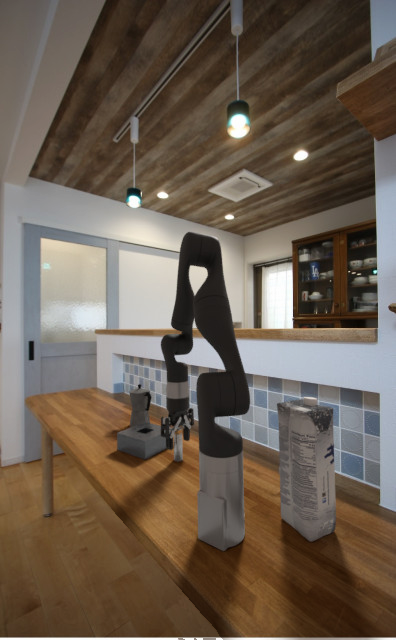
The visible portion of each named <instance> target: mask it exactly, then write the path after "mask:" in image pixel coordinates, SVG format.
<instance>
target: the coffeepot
mask: <svg viewBox="0 0 396 640" xmlns="http://www.w3.org/2000/svg"><path fill="white" fill-rule="evenodd" d="M128 392H129V399H130V405H131V408H132V409H131V412H130V413H131V415H130V420H129V428H131V427H134V426H137V425H139V424H142V423H144V422H148V423H151V420H150V415H149V411H150V407H151V401H152V394H151V390H150V389H148V388H143V387H142V384H141V383H140V384H139V383H138V384H137V388H135V389H130V390H129V391H128Z"/></svg>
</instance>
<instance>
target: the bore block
mask: <svg viewBox="0 0 396 640" xmlns="http://www.w3.org/2000/svg"><path fill="white" fill-rule="evenodd" d="M164 433H165V430H164ZM170 433H171V430H170V432H169V434H170ZM172 438H173V439H174V436H173V437H172ZM116 440H117V441H116V446H117V448H116V449H117V451H119V452H122V453H125V454H128V455H130V456H133V457H137V458H139V459H143V460H148V459H150V458H152V457H153V456H155V455H157V454H159V453H161V452H163V451H165V450H166V449H167V448H166V438H165V437H161V424H160V425H159V424H155V423H152V422H150V423H148V422H144V423H142V424H139V425H137V426H134V427H129V428H126V429H123V430H120V431H119V432H116ZM167 450H168V449H167Z"/></svg>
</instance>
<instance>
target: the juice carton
mask: <svg viewBox="0 0 396 640" xmlns="http://www.w3.org/2000/svg"><path fill="white" fill-rule="evenodd" d="M276 409H277V416H278V417H277V419H278V449H279V450H278V451H279V453H278V455H279V458H278V459H279V467H280V474H279V488H280V489H279V490H280V491H279V492H280V516H281V518H282V520H283V521H284V522H286V523H287V524H288V525H289V526H291V527H292V528H294V529H295V531H297V532H298V533H299V534H300V535H301V536H302V537H303V538H305V539H306V540H307V541H309V542H312V543H313V542H314V541H317V540H319V539H321V538H323V537H324V536H327V535H331V534H332V533H334V532H335V530H336V523H337V521H336V520H337V509H336V508H337V505H336V504H337V503H336V476H335V475H336V474H335V473H336V472H335V471H336V470H335V469H336V468H335V440H334V437H335V436H334V407H331V406H327V405H321V404H318V398H316V397H313V396H303V399H302V398H300V399H294V400H288V401H287V400H286V401H283V402H276Z"/></svg>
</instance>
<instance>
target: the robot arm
mask: <svg viewBox="0 0 396 640" xmlns="http://www.w3.org/2000/svg"><path fill="white" fill-rule="evenodd" d="M178 257H179V258H178V267H177V279H176V291H175V292H176V293H175V300H174V306H173V310H172V314H171V321H170V327H171V328H173V329H174V330H175V331H178V332H181V333H167V334H165V335H164V336H163V337H162V339H160V349H161V353H162V356H163V360H164V364H165V368H166V384H165V385H166V388H165V395H166V398H165V399H166V401H165V402H166V403H165V404H166V406H165V407H166V410H167V412H168V414H167V416H166V417H164V416H162V417H161V418H160V426H161V437H165V438H166V448H167V450H169V451H172V450H174V432H175V431H176V430H177V428H178V427H181V426H182V427H183V428H182V440H183V441H186V442H189V441H190V437H191V434H190V433H191V428H192V427H194V426H195V416H194V415H195V414H194V408H192V407H190V385H189V367H188V364H187V363H185V362H181V361H177V359H176V357H175V356H183V355H184V356H185V355H189V354H190V353H191V352H192V350H193V348H194V336H193V335H194V334H193V333H194V332H193V331H194V329H193V328H194V327H193V326H194V324H195V326H196V329H197V331H198V332H199V333H200V335H201V336H202V337H203V338H204V339H205V341H206V342H207V343H208V344H209V345H210V346H211V347H212V348H213V349H214V351H215V352H216V354H218V356H219V358H220V359H221V362H222V364H223V367H224V370H225V371H209V372H202V373H200V374H199V375H198V376H197V379H196V389H195V391H196V392H195V394H196V405H197V407H196V408H197V422H198V424H197V425H198V429H197V430H198V461H199V462H198V463H199V464H198V471H199V490H198V491H197V538H198V540H200V541H202V542H204V543H206V544H208V545H211V546H212V547H215V548H216V549H218V550H220V551H222V552H225V551H227V549H228V548H231V547H234V546H237V545H238V544H240V543H241V542H242V541H243V540H244V537H245V533H246V531H245V529H246V528H245V525H246V524H245V495H244V494H245V492H244V491H245V489H244V488H245V486H244V485H245V483H244V482H245V481H244V445H243V444H244V440H243V435H241V434H240V432H238V431H236V430H234V429H232V428H229V427H225V426H222V425H220V424H219V423H216V421H215V419H216V418H223V417H237V416H244V415H246V414H247V413H248V412H249V410H250V407H251V395H250V387H249V382H248V379H247V376H246V371H245V369H244V365H243V362H242V361H243V360H242V357H241V355H240V351H239V347H238V342H237V338H236V335H235V334H236V332H235V327H234V322H233V316H232V310H231V305H230V300H229V297H228V295H229V294H228V292H227V291H228V290H227V287H226V279H225V275H224V265H223V254H222V246H221V243H220V240H219V238H218V237H216V236H213V235H211V234H210V235H209V234H205V233H201V232H199V233H198V232H193V231H187V232H186V233H185V234H184V235H183V237H182V239H181V242H180V248H179V256H178ZM191 266H192V267H197V268H204V269H205V270H206V271H207V276H206V278H205V280H204V281H203V283H201V286H200V287H199V288H198V290H197V292H196V293H195V292H194V290H193V287H192V284H191V280H190V268H191ZM164 430H165V433H164ZM170 430H171V433H170V434H169V432H170ZM172 437H173V438H172Z"/></svg>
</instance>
